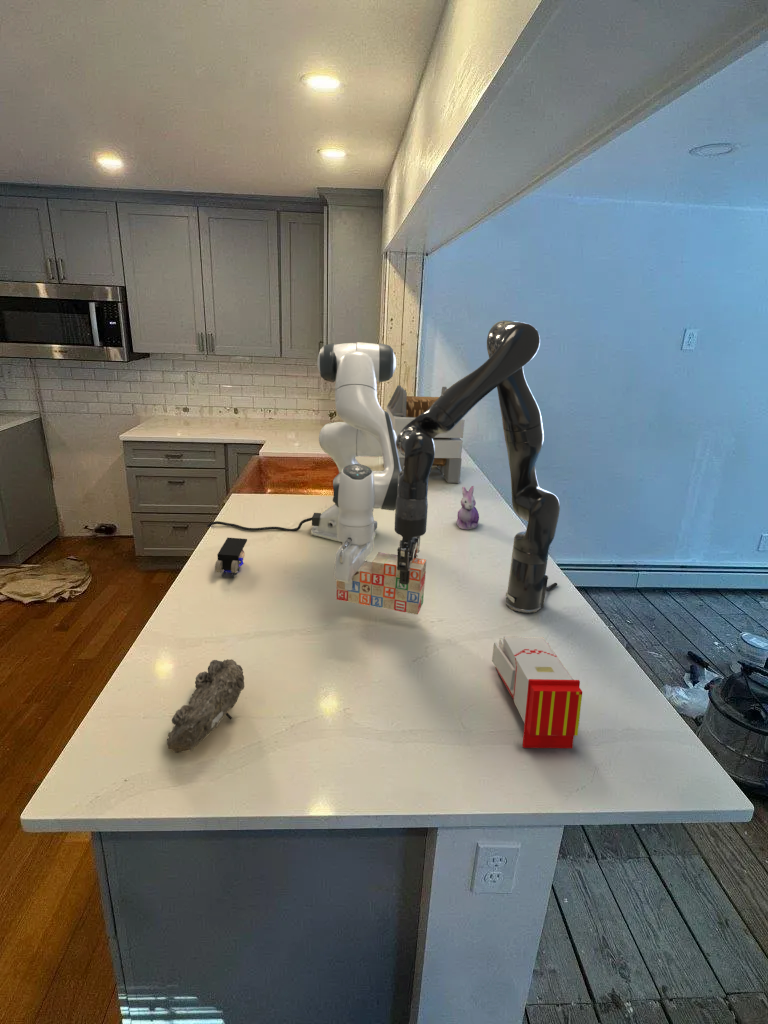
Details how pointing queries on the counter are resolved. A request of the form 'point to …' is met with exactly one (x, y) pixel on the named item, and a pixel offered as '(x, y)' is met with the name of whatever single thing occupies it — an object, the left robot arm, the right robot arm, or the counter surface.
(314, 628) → the counter surface
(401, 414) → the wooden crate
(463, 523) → the figurine
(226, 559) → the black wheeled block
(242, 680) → the fossil
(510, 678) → the toy
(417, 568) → the stack of blocks
